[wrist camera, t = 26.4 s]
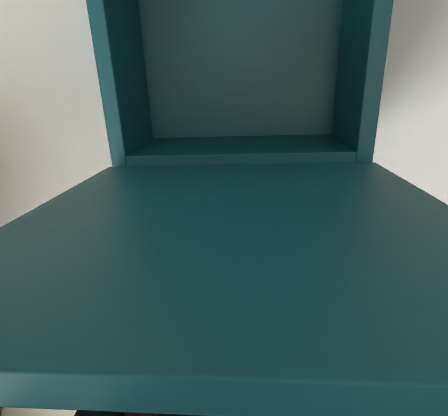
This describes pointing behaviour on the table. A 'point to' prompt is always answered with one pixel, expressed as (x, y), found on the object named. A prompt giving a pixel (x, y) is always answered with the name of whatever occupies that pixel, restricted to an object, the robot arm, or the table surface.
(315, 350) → the cool box lid
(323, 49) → the cool box
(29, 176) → the table surface
